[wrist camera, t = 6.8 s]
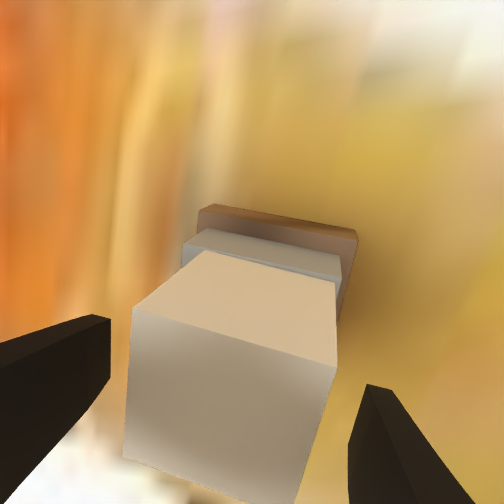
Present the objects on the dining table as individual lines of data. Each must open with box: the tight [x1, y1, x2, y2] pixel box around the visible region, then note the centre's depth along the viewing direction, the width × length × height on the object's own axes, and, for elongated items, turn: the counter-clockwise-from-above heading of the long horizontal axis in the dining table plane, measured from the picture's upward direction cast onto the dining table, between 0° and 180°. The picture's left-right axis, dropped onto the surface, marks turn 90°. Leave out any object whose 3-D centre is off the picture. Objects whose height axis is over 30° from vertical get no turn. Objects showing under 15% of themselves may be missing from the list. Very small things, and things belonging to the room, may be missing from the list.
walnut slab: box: [197, 204, 358, 326], centre depth 15 cm, size 6×6×2 cm
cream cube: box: [123, 250, 338, 504], centre depth 10 cm, size 4×4×4 cm
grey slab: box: [181, 228, 342, 300], centre depth 13 cm, size 6×6×2 cm
